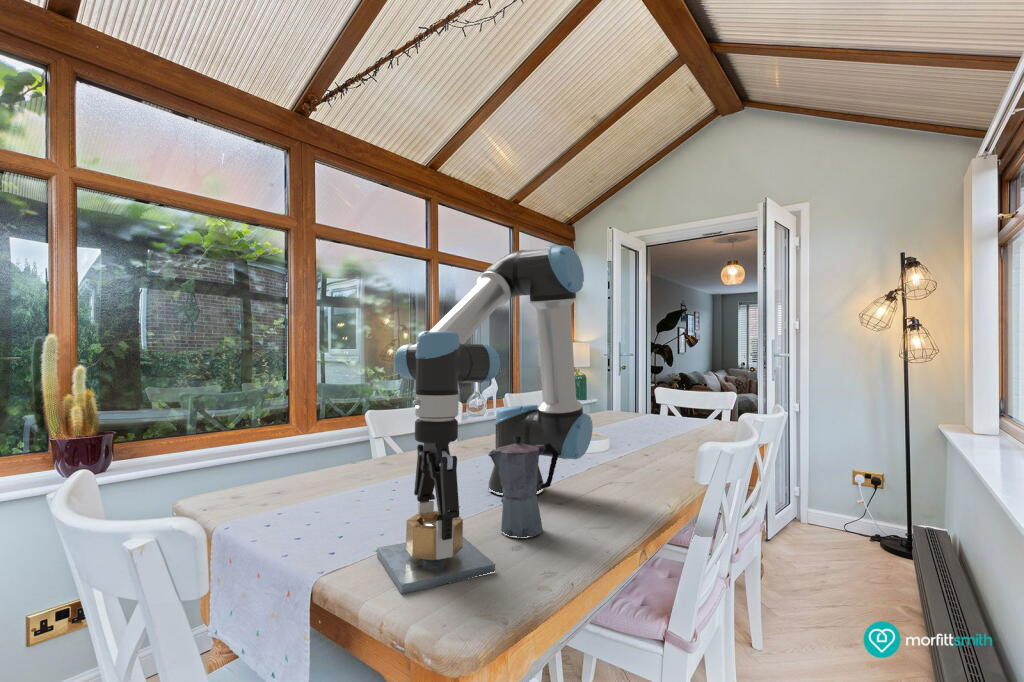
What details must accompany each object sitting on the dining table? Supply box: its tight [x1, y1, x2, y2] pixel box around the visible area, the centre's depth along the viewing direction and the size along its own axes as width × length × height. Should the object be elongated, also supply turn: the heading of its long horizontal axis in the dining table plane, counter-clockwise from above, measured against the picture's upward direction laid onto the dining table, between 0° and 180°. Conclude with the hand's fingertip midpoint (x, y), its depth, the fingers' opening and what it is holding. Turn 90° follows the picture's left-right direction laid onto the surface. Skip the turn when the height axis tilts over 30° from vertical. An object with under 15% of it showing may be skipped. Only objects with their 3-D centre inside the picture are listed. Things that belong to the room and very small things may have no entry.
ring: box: [405, 510, 464, 560], centre depth 85 cm, size 9×9×5 cm
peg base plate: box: [376, 520, 496, 595], centre depth 85 cm, size 16×16×7 cm
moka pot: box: [487, 436, 559, 537], centre depth 102 cm, size 10×15×20 cm, turn 111°
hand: (434, 547), depth 85 cm, fingers closed on ring, 9 cm apart
